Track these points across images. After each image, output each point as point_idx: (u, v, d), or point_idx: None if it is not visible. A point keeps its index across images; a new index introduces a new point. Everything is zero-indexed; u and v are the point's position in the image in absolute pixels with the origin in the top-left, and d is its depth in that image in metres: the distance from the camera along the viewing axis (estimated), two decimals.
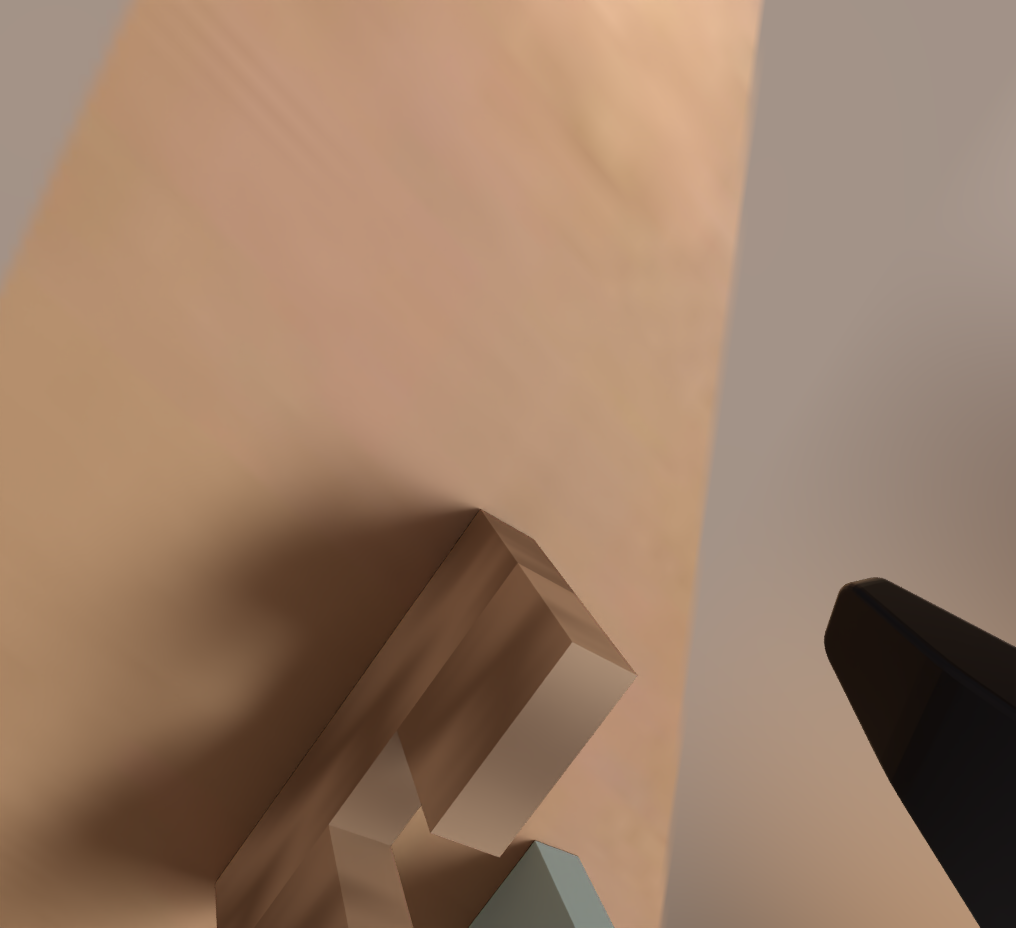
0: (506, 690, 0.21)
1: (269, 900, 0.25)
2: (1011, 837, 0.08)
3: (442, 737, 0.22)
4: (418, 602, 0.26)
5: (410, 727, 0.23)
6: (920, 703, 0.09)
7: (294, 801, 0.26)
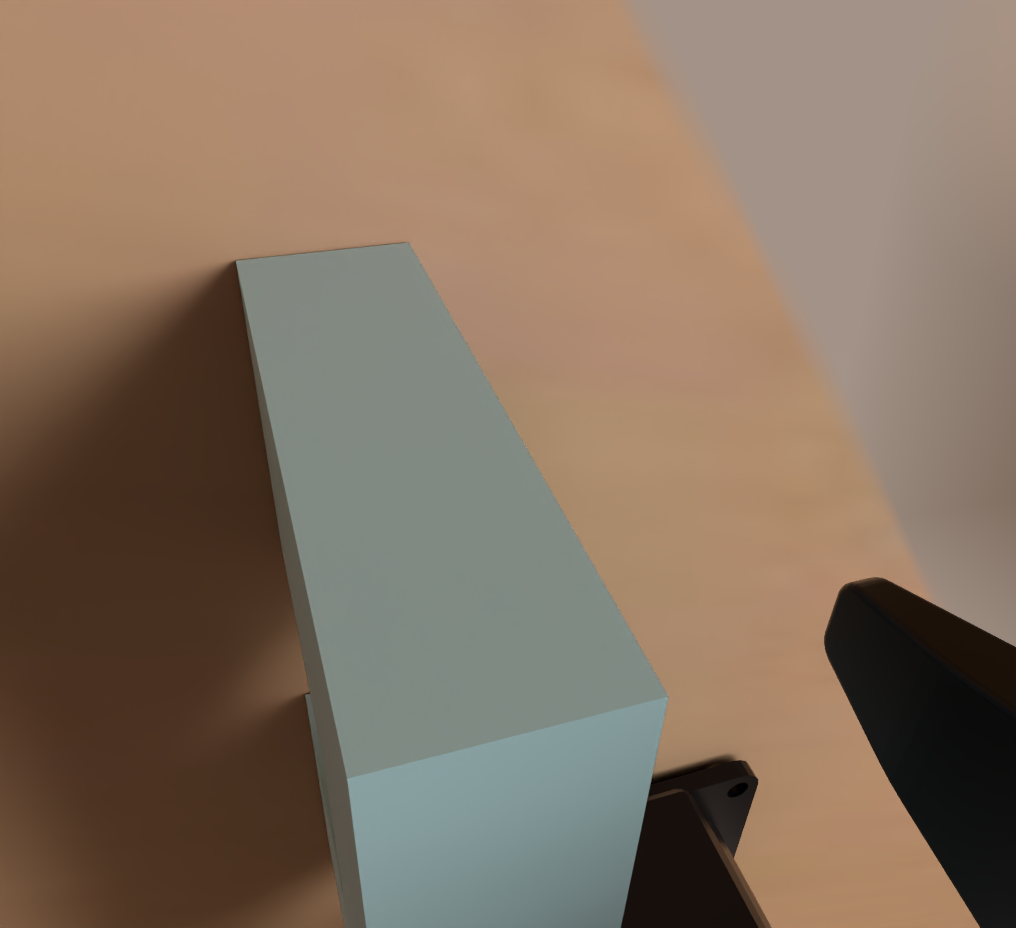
0: None
1: None
2: (1011, 837, 0.08)
3: None
4: None
5: None
6: (920, 703, 0.09)
7: None
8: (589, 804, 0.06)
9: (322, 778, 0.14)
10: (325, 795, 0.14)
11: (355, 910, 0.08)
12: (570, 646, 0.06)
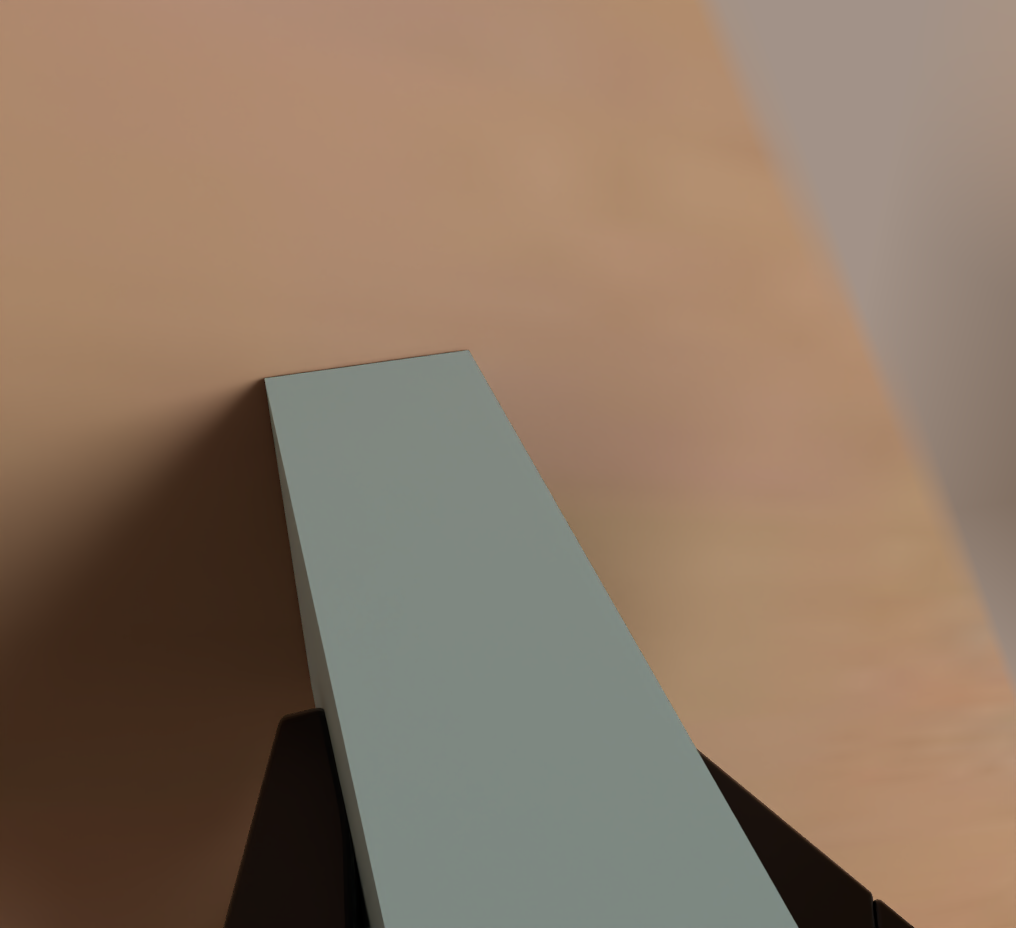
0: None
1: None
2: None
3: None
4: None
5: None
6: None
7: None
8: None
9: None
10: None
11: None
12: None
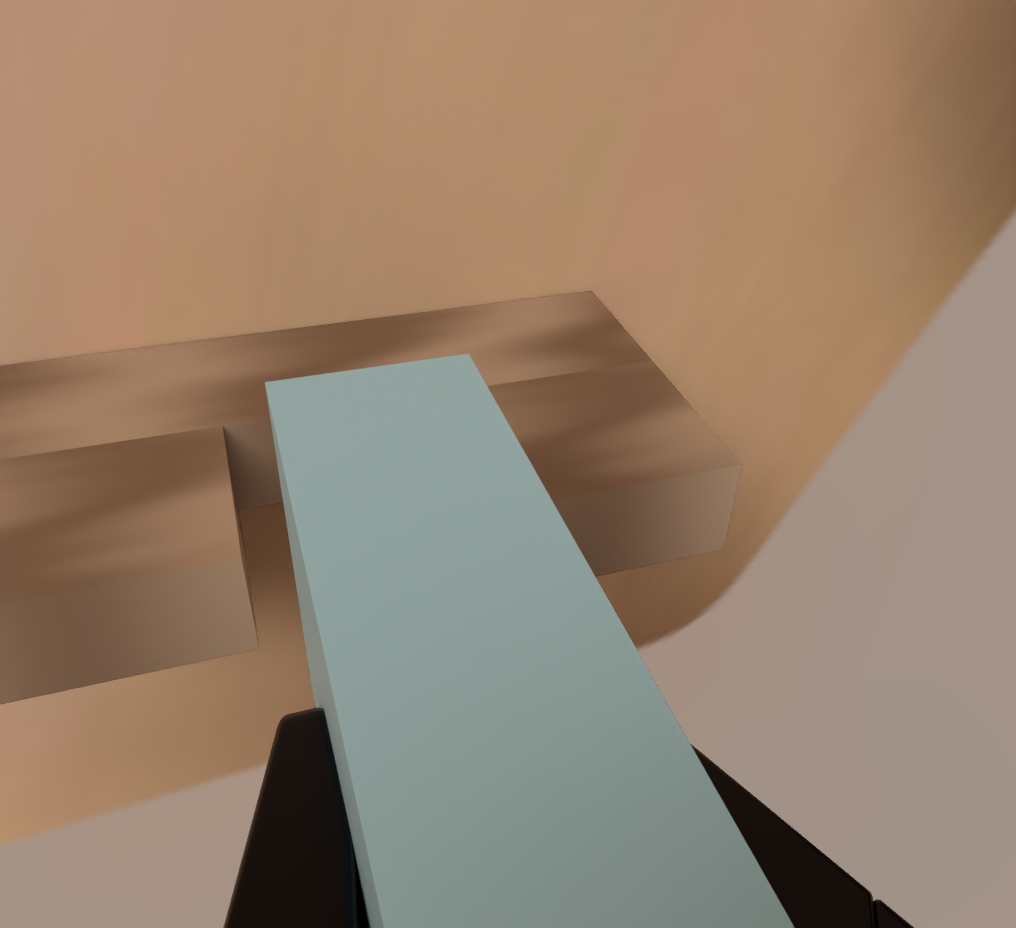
0: None
1: None
2: None
3: None
4: None
5: None
6: None
7: None
8: None
9: None
10: None
11: None
12: None
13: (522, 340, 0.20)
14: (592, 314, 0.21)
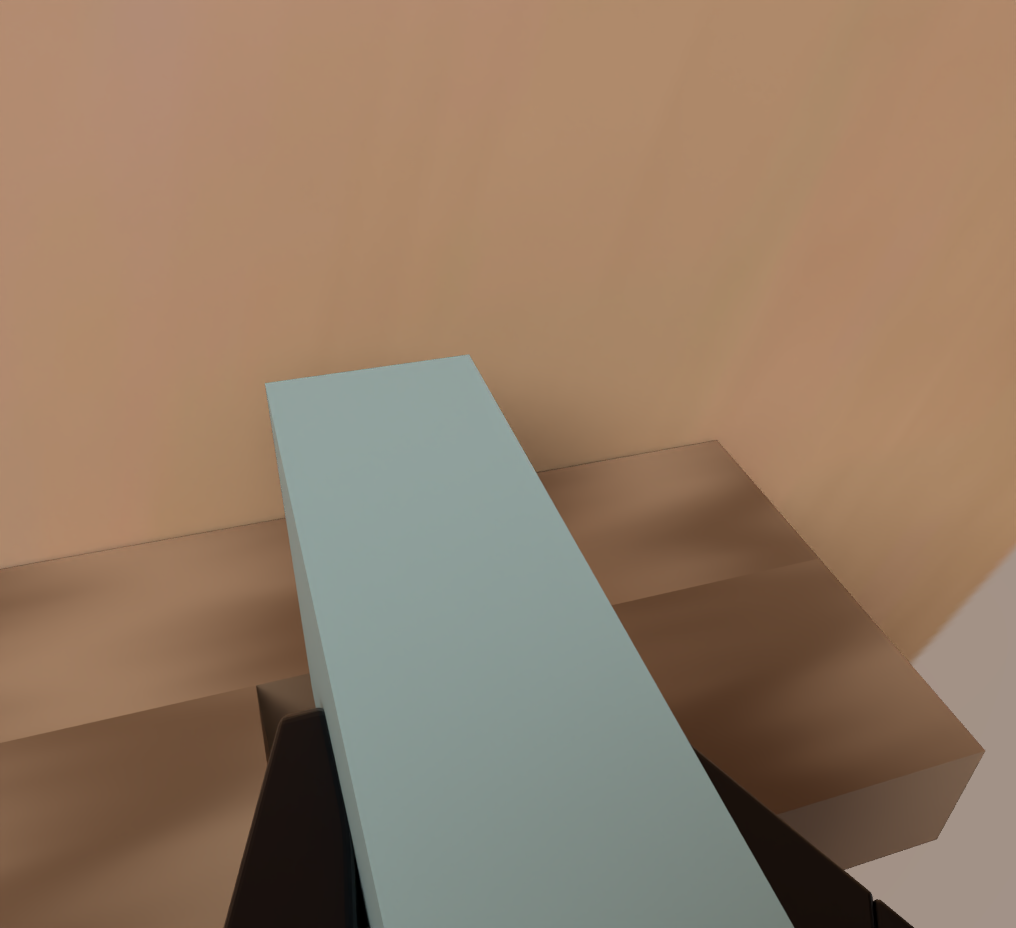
0: None
1: None
2: None
3: None
4: None
5: None
6: None
7: None
8: None
9: None
10: None
11: None
12: None
13: (642, 524, 0.15)
14: (725, 479, 0.16)
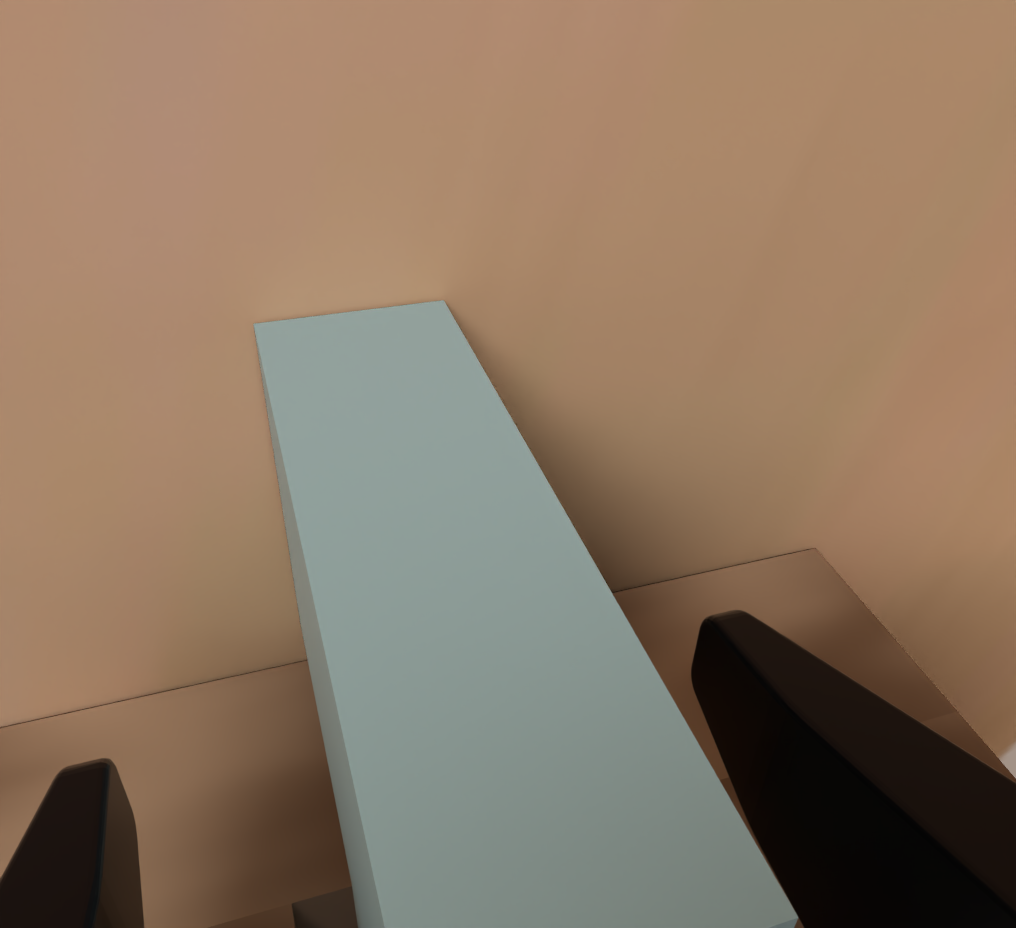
0: None
1: None
2: (854, 890, 0.08)
3: None
4: None
5: None
6: (770, 745, 0.08)
7: None
8: None
9: None
10: None
11: None
12: (671, 843, 0.05)
13: None
14: (832, 601, 0.14)
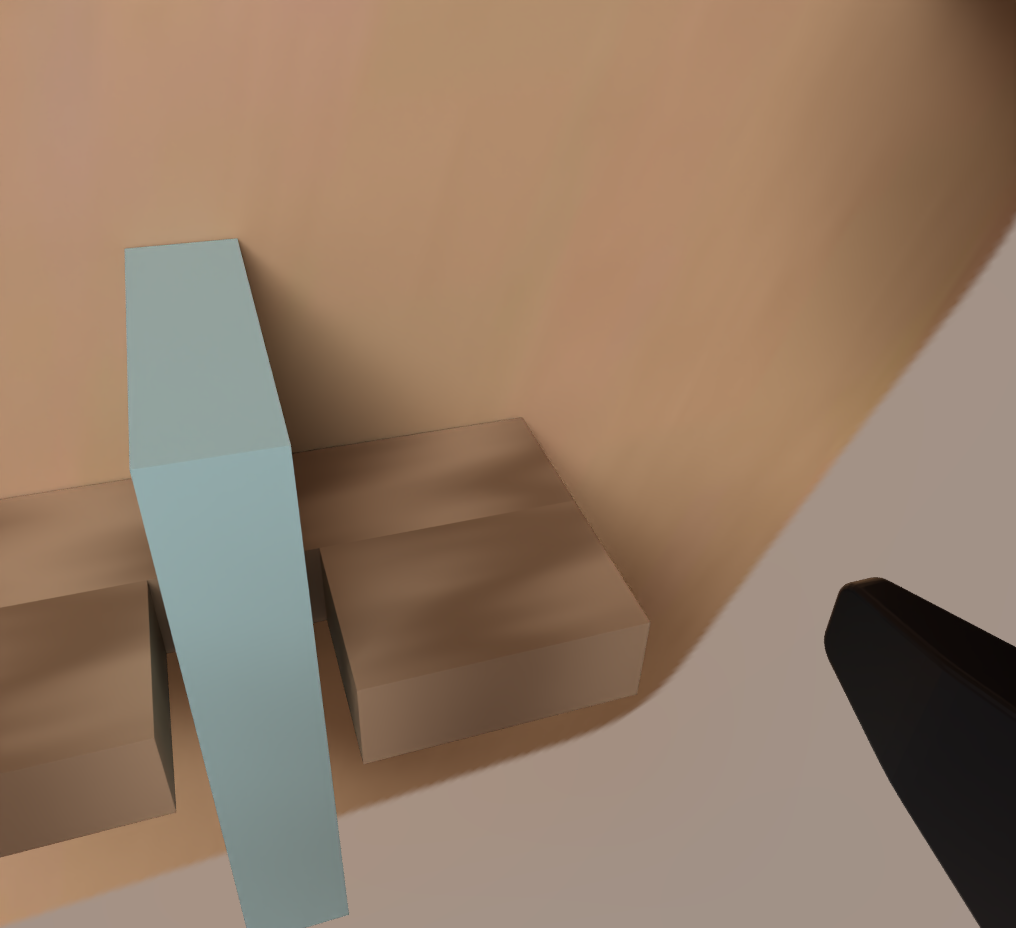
0: None
1: None
2: (1011, 837, 0.08)
3: None
4: None
5: None
6: (920, 703, 0.09)
7: None
8: (265, 507, 0.13)
9: None
10: None
11: None
12: (252, 427, 0.13)
13: (449, 476, 0.20)
14: (520, 445, 0.21)
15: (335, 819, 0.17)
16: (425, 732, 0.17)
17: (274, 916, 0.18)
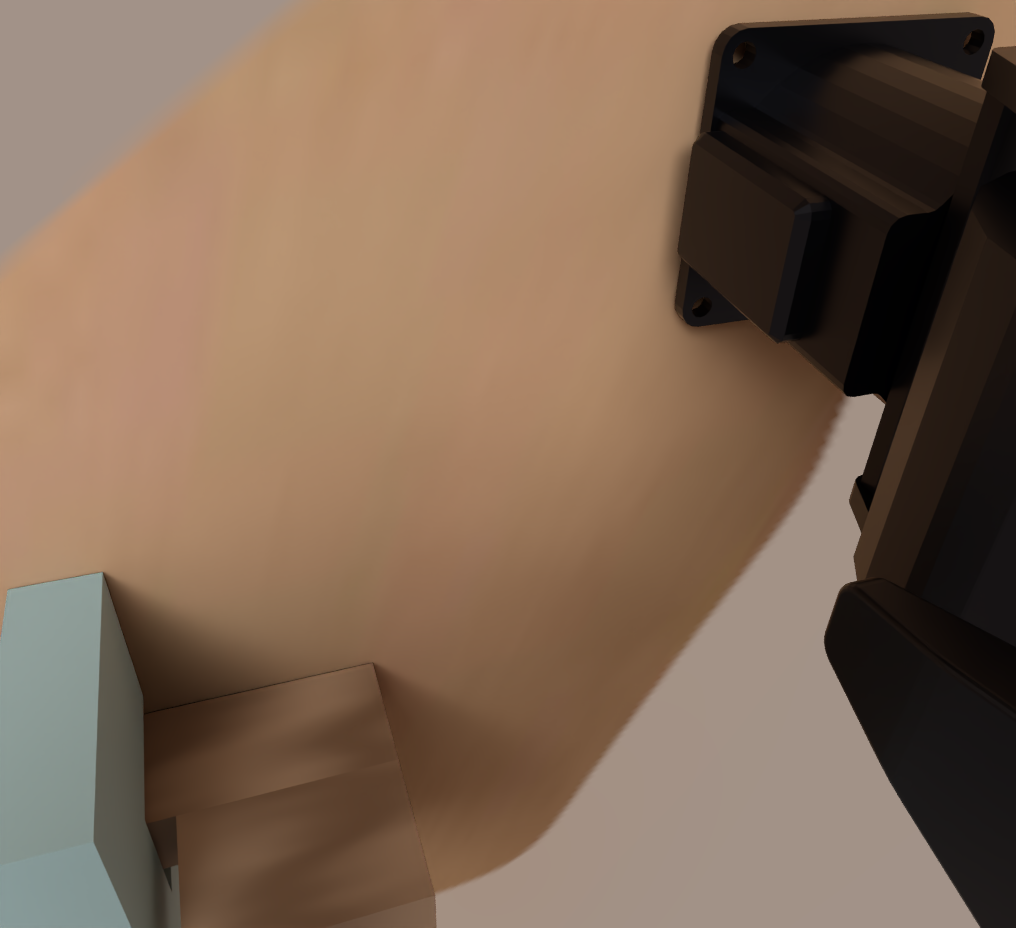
0: None
1: None
2: (1011, 837, 0.08)
3: None
4: None
5: None
6: (920, 703, 0.09)
7: None
8: (79, 878, 0.17)
9: None
10: None
11: None
12: (67, 820, 0.16)
13: (297, 733, 0.24)
14: (365, 696, 0.25)
15: None
16: None
17: None
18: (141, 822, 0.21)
